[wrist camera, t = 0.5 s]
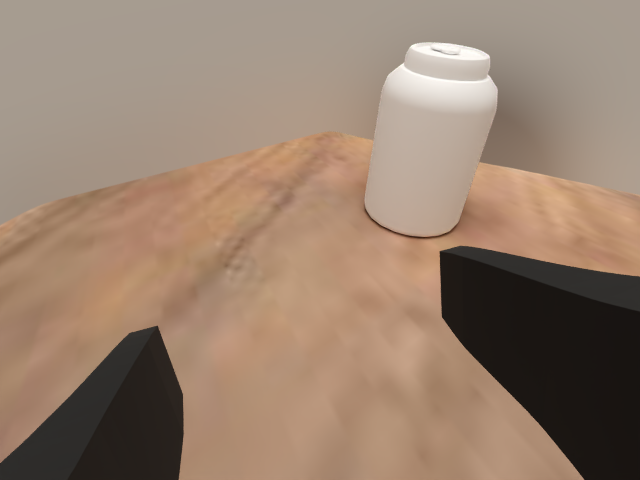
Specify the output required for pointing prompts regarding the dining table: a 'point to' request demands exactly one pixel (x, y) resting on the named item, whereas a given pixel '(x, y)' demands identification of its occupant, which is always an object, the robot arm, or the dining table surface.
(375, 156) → the white lidded jar
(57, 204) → the dining table surface
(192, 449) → the dining table surface
